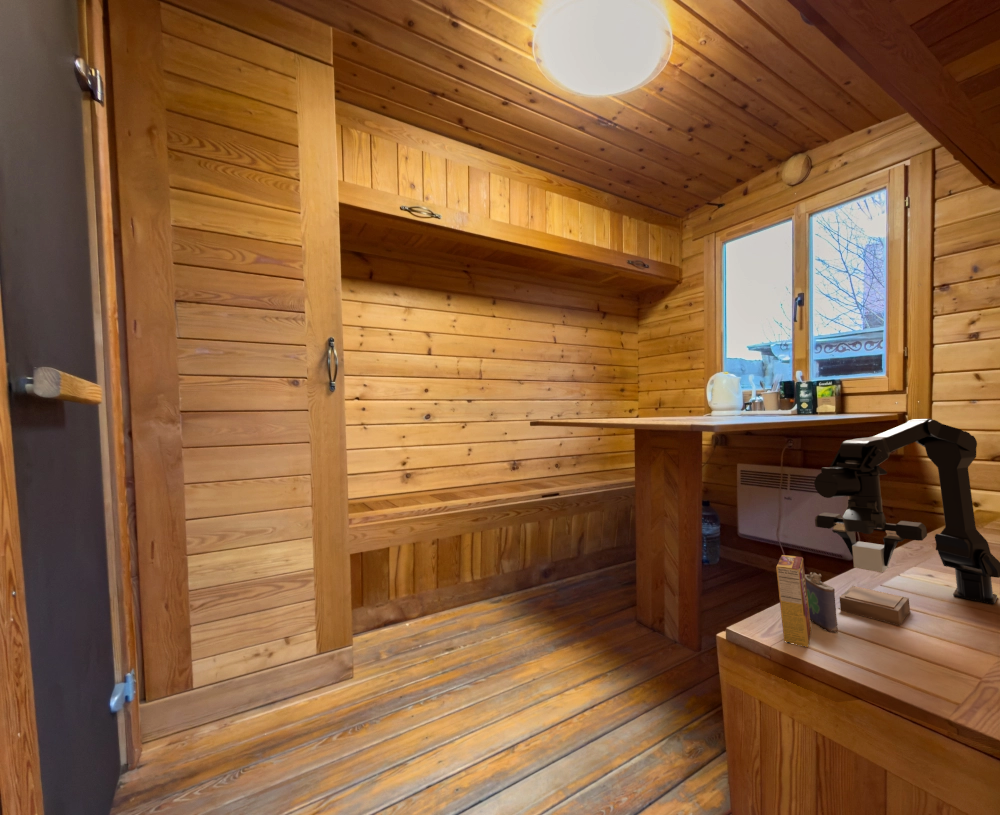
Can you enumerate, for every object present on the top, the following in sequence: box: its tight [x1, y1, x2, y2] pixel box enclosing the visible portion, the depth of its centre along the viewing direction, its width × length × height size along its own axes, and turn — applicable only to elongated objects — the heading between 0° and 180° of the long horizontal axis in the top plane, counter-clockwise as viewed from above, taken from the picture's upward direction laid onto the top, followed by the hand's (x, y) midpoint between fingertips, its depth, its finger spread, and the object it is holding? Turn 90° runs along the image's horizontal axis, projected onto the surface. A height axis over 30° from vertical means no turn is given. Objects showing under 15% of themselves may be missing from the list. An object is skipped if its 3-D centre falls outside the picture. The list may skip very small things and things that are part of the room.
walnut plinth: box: [839, 585, 911, 626], centre depth 96 cm, size 10×10×3 cm
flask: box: [805, 572, 839, 634], centre depth 92 cm, size 9×3×11 cm, turn 172°
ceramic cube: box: [852, 540, 890, 574], centre depth 96 cm, size 5×5×5 cm
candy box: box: [775, 554, 812, 648], centre depth 87 cm, size 9×4×15 cm, turn 140°
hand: (870, 563), depth 96 cm, fingers closed on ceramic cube, 5 cm apart
